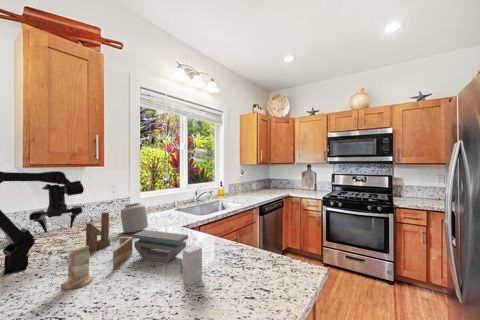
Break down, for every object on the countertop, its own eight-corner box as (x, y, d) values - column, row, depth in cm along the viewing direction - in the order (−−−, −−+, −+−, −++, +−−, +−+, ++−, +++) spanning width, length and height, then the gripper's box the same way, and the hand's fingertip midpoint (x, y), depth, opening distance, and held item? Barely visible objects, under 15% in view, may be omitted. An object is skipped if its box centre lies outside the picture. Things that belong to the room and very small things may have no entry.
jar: (112, 233, 140) (113, 193, 141) (132, 227, 153) (133, 191, 154) (134, 237, 132) (134, 195, 133) (152, 230, 146) (153, 192, 146)
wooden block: (85, 251, 110) (86, 215, 110) (105, 244, 120) (106, 211, 120) (90, 252, 108) (91, 216, 109) (110, 245, 118) (111, 211, 119)
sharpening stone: (187, 258, 102) (188, 235, 102) (178, 266, 94) (178, 240, 94) (144, 251, 110) (144, 229, 110) (132, 258, 102) (132, 234, 102)
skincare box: (195, 276, 85) (195, 245, 86) (202, 279, 83) (202, 247, 83) (181, 282, 81) (182, 249, 81) (189, 286, 78) (189, 252, 78)
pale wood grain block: (68, 283, 79) (68, 249, 79) (81, 276, 84) (82, 245, 84) (75, 285, 78) (75, 250, 78) (88, 278, 82) (89, 246, 83)
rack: (100, 270, 90) (100, 250, 90) (120, 253, 107) (120, 237, 107) (115, 270, 90) (116, 250, 90) (133, 253, 107) (133, 236, 108)
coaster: (63, 292, 74) (63, 290, 74) (60, 282, 80) (60, 280, 80) (95, 282, 80) (95, 281, 80) (90, 274, 87) (90, 272, 87)
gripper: (24, 203, 91) (26, 240, 92) (79, 197, 101) (81, 231, 101) (32, 199, 101) (34, 232, 101) (82, 194, 110) (83, 224, 111)
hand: (58, 230), depth 103 cm, fingers open, 9 cm apart
